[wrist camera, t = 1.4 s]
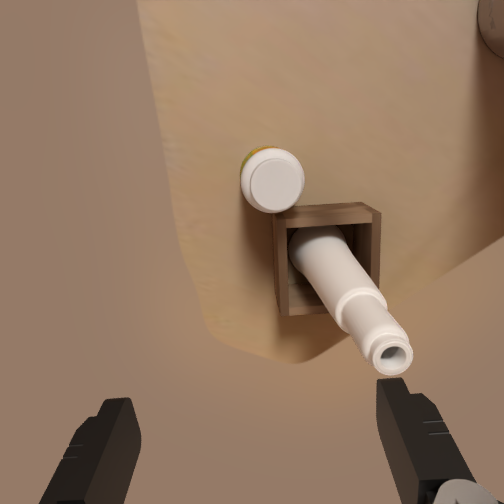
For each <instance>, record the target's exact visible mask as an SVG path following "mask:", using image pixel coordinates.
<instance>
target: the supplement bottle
mask: <svg viewBox="0 0 504 504" xmlns="http://www.w3.org/2000/svg"><path fill="white" fill-rule="evenodd" d="M240 182H241V189H242V192H243V194H244V196H245V198H246V200H247V201H248V202H249V203H250V204H251V205H252V206H253V207H254V208H256V209H258V210H260V211H263V212H266V213H278V212H282V211H285V210H287V209H289V208H290V207H292V206H293V205H294V204H295V203H296V202H297V201H298V200H299V198H300V196H301V194H302V192H303V189H304V184H305V177H304V171H303V169H302V166H301V164H300V163H299V161H298V160H297V159H296V158H295V157H294V156H293V155H292V154H291V153H289V152H287V151H285V150H283V149H280V148H278V147H274V146H262V147H259V148H256V149H254V150H253V151H251V152H250V153H249V154H248V155H247V156H246V157H245V159H244V161H243V163H242V165H241V169H240Z"/></svg>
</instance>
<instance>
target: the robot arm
mask: <svg viewBox="0 0 504 504" xmlns="http://www.w3.org/2000/svg"><path fill="white" fill-rule="evenodd" d="M478 22H479V27H480V32H481V34H482V36H483V39H484V41H485V43H486V44H487V45H488V47H489V48H490V49H491V50H492V51H493V52H494V53H496V54H497V55H498V56H500V57H502V58H504V0H480V2H479V8H478ZM376 397H377V398H376V400H377V401H376V403H377V404H376V418H377V426H378V431H379V435H380V439H381V441H382V444H383V447H384V451H385V454H386V457H387V460H388V463H389V466H390V469H391V472H392V475H393V478H394V481H395V484H396V487H397V490H398V493H399V496H400V499H401V502H402V504H504V503H502V502H500V501H498V500H496V499H495V498H494V497H493V495H492V494H491V493H490V492H489V491H488V490H486V489H485V488H484V487H482V486H480V485H479V484H477V482H476V481H475V479H474V477H473V476H472V474H471V472H470V470H469V468H468V466H467V464H466V462H465V460H464V459H463V457H462V455H461V453H460V451H459V449H458V447H457V445H456V443H455V442H454V440H453V438H452V436H451V434H449V430H448V428H447V426H446V424H445V423H444V422H443V419H442V417H441V415H440V413H439V411H438V409H437V407H436V405H435V404H434V403H432V402H431V401H430V400H429V399H428V398H427V397H426V396H424V395H423V394H422V393H419V394H410V393H409V391H408V389H407V386H406V384H405V383H404V380H403V379H402V378H387V379H378V380H377V395H376ZM140 448H141V432H140V428H139V425H138V421H137V418H136V414H135V411H134V408H133V404H132V401H131V399H130V398H114V399H106V400H105V401H104V402H103V404H102V406H101V408H100V410H99V412H98V415H97V416H95V417H89V418H88V419H87V420H86V421H85V422H84V423H83V424H82V425H81V426H80V427H79V428H78V429H77V430H76V432H75V434H74V436H73V438H72V440H71V442H70V444H69V447H68V448H67V449H66V452H65V454H64V455H63V459H62V460H61V461H60V463H59V465H58V467H57V469H56V471H55V473H54V475H53V477H52V479H51V481H50V483H49V485H48V487H47V489H46V491H45V493H44V494H43V496H42V498H41V501H40V502H39V504H124V501H125V497H126V494H127V491H128V488H129V485H130V481H131V478H132V475H133V472H134V469H135V466H136V462H137V459H138V456H139V453H140Z"/></svg>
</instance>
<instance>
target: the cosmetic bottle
mask: <svg viewBox="0 0 504 504" xmlns="http://www.w3.org/2000/svg"><path fill="white" fill-rule="evenodd" d="M289 257H290V260H291V262H292V264H293V265H294V267H295V268H296V269H297V270H298V271H300V272H301V273H302V274H303V275H304V276H305V277H306V278H307V279H308V281H309V282H310V283H311V285H312V286H313V288H314V289H315V291H316V293H317V294H318V296H319V297H320V299H321V300H322V302H323V304H324V305H325V307H326V308H327V310H328V311H329V313H330V314H331V316H332V317H333V319H334V320H335V321H336V323H337V324H338V326H339V327H340V328H341V329H342V330H343V331H344V332H346V333H348V334H350V335H351V337H352V338H353V340H354V342H355V344H356V345H357V347H358V349H359V351H360V353H361V354H362V356H363V357H364V359H365V360H366V361H367V362H368V363H369V364H370V365H372V366H374V367H375V368H376V370H378V371H379V372H380V373H382V374H384V375H397V374H400V373H402V372H403V371H405V370H406V369H407V368H408V367H409V366H410V364H411V362H412V359H413V351H412V348H411V346H410V345H409V339H408V336H407V334H406V332H405V331H404V330H403V329H402V327H401V326H400V325H399V324H398V323H397V322H396V320H395V319H394V318H393V317H392V316H391V315H390V314H389V312H388V311H387V303H386V300H385V298H384V297H383V295H382V294H381V292H380V291H379V289H378V288H377V287H376V285H375V284H374V282H373V281H372V280H371V278H370V277H369V276H368V274H367V273H366V272H365V270H364V269H363V268H362V266H361V265H360V264H359V262H358V261H357V260H356V258H355V257H354V256H353V254H352V253H351V251H350V250H349V248H348V246H347V243H346V240H345V237H344V235H343V233H342V232H341V230H340V229H339V228H338V227H336V226H335V225H326V226H311V227H300V228H298V229H297V230H296V232H295V233H294V234H293V236H292V238H291V240H290V243H289Z"/></svg>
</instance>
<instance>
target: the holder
mask: <svg viewBox="0 0 504 504" xmlns="http://www.w3.org/2000/svg"><path fill="white" fill-rule="evenodd" d="M341 224H354V225H353V256H354V257H355V258H356V260H357V261H358V262H359V264H360V265H361V266H362V268H363V269H364V270H365V272H366V273H367V274H368V276H369V277H370V278H371V280H372V281H373V282H374V284H375V285H376V287H377V288H378V289H379V275H380V240H381V213H380V212H379V211H377V210H375V209H373V208H371V207H370V206H368V205H366V204H364V203H362V202H354V203H339V204H323V205H308V206H292V207H290V208H289V209H287V210H285V211H282V212H278V213H272V235H273V257H274V279H275V294H276V298H277V302H278V307H279V311H280V315H281V316H292V315H307V314H321V313H329V311H328V310H327V308H326V307H325V305H324V304H323V302H322V300H321V299H320V297H319V296H318V294H317V293H316V291H315V289H314V288H313V286H312V285H311V283H306V284H291V285H288V264H287V236H286V228H295V227H311V226H326V225H341Z"/></svg>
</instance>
